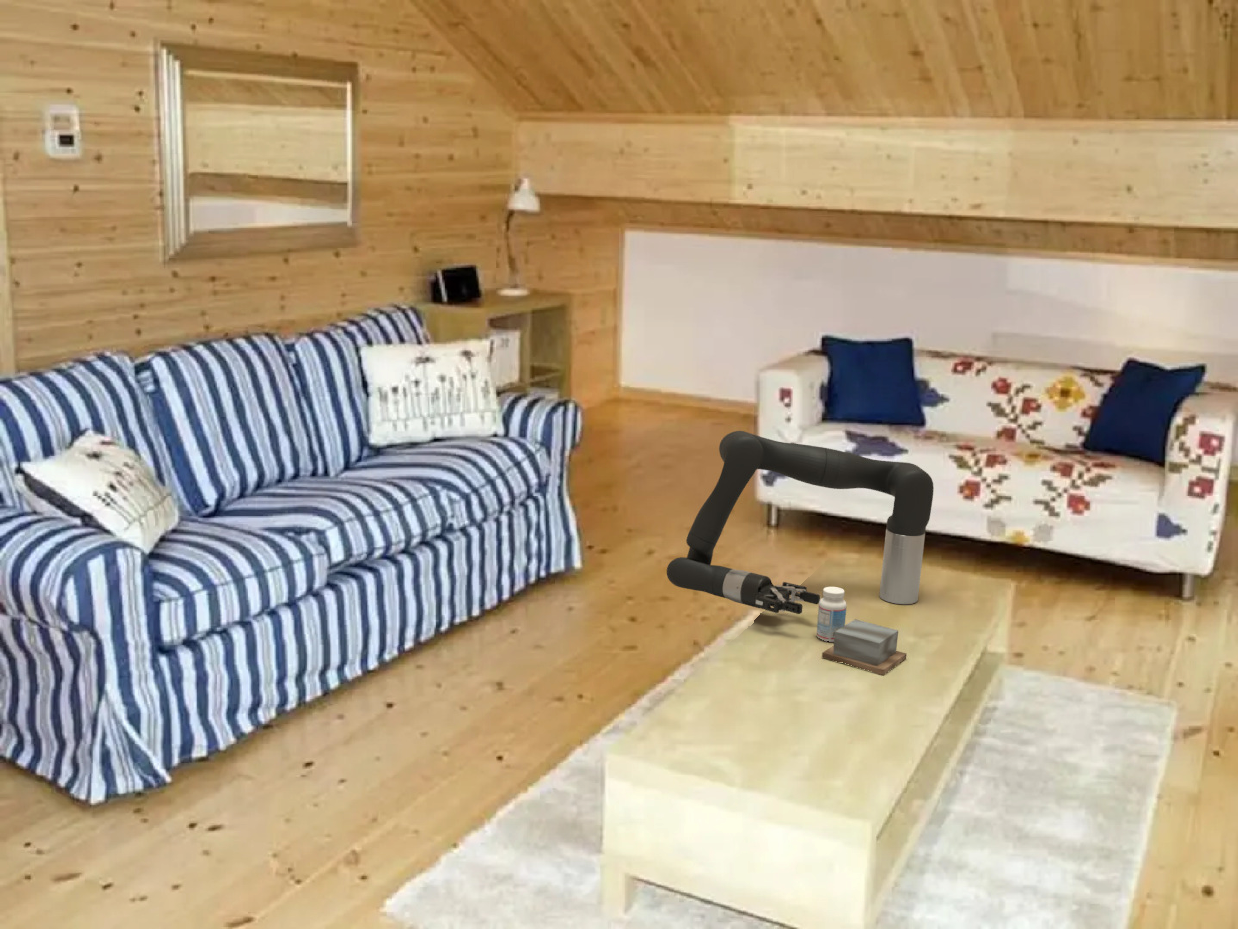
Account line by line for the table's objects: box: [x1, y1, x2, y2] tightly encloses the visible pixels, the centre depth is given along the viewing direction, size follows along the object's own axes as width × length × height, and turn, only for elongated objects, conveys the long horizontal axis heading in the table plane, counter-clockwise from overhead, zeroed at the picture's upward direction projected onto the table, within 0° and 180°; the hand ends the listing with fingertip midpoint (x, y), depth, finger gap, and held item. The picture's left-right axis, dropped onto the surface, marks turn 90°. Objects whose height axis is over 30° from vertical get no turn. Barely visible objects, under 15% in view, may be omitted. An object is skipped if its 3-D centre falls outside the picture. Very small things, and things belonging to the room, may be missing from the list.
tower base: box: [821, 618, 908, 676], centre depth 270 cm, size 12×14×6 cm
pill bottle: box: [816, 586, 847, 643], centre depth 280 cm, size 6×6×11 cm
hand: (810, 604), depth 283 cm, fingers open, 8 cm apart
